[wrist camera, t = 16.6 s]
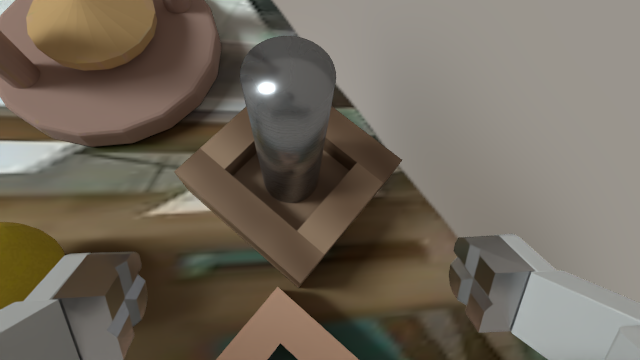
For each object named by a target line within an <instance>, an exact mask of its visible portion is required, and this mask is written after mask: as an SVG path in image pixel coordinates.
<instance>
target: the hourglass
mask: <svg viewBox="0 0 640 360" xmlns="http://www.w3.org/2000/svg"><path fill="white" fill-rule="evenodd" d="M220 55H221V42H220V38H219V34H218V31H217V28H216V24H215V21H214V18H213V14H212V11H211V8H210V7H209V5H208V4H207V3H206V2H205V1H204V0H15V1H14V2H13V3H12V4H11V5H10V6H9V7H8V8H7V9H6V10H5V11H4V13H3V14H2V15H1V16H0V97H1V99H2V100H3V102H4V103H5V105H6V107H7V108H8V109H9V110H11V111H12V112H13V113H15V114H16V115H17V116H19V117H20V118H22V119H23V120H25V121H26V122H28V123H29V124H31V125H32V126H34V127H35V128H37V129H39V130H40V131H42V132H43V133H45V134H46V135H48V136H49V137H51V138H54V139H58V140H63V141H68V142H72V143H77V144H81V145H86V146H90V147H95V146H106V145H117V144H128V143H135V142H137V141H140V140H142V139H145V138H147V137H150V136H152V135H155V134H157V133H160V132H162V131H165V130H167V129H170V128H172V127H173V126H174V125H176V124H177V123H178V122H179V121H180V120H182V119H183V118H184V117H185V116H187V115H188V114H189V113H190V112H192V111H193V110H194V109H195V108H197V107H198V106H199V105H200V104H201V102H202V101H203V99H204V98H205V96H206V94H207V93H208V91H209V89H210V88H211V86H212V85H213V83H214V81H215V80H216V78H217V75H218V68H219V62H220Z"/></svg>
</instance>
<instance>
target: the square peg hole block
mask: <svg viewBox="0 0 640 360" xmlns="http://www.w3.org/2000/svg"><path fill="white" fill-rule="evenodd" d="M401 161H402V160H401V159H400V158H399V157H397V156H396V155H395V154H394V153H392V152H391V151H390V150H388V149H387V148H386V147H384V146H383V145H382V144H380V143H379V142H378V141H377V140H375V139H374V138H373V137H371V136H370V135H369V134H367V133H366V132H365V131H363V130H362V129H361V128H360V127H358V126H357V125H356V124H354V123H353V122H352V121H350V120H349V119H348V118H346V117H345V116H344V115H342V114H341V113H340V112H339V111H337V110H336V109H335V108H333V107H332V106H331V110H330V116H329V121H328V127H327V132H326V138H325V144H324V149H323V155H322V160H321V166H320V171H319V177H318V182H317V186H316V188H315V190H314V191H313V193H312V194H311V195H310V196H309V197H307V198H306V199H304V200H302V201H300V202H296V203H285V202H281V201H279V200H277V199H275V198H274V197H272V196H271V195H270V194H269V192H268V191H267V189H266V188H265V185H264V181H263V177H262V172H261V168H260V164H259V159H258V155H257V151H256V146H255V142H254V137H253V133H252V129H251V124H250V120H249V115H248V111H247V107H245V108H244V109H243V110H242V111H241V112H240V113H239V114H237V115H236V116H235V117H234V118H233V119H232V120H231V121H230V122H229V123H227V124H226V125H225V126H224V127H223V128H222V129H221V130H220V131H219V132H217V133H216V134H215V135H214V136H213V137H212V138H211V139H210V140H209V141H207V142H206V143H205V144H204V145H203V146H202V147H201V148H200V149H199V150H198V151H196V152H195V153H194V154H193V155H192V156H191V157H190V158H189V159H188V160H186V161H185V162H184V163H183V164H182V165H181V166H180V167H179V168H178V169H176V170H175V171H174V172H175V174H176V175H177V176H178V177H179V179H180V180H181V181H182V182H183V184H184V185H185V186H186V188H187V189H188V190H189V191H190V192H191V193H192V194H193V195H194V196H195V197H196V198H198V199H199V200H200V201H201V202H202V203H203V204H204V205H206V206H207V207H208V208H209V209H210V210H211V211H212V212H213V213H215V214H216V215H217V216H218V217H219V218H220V219H221V220H222V221H224V222H225V223H226V224H227V225H228V226H229V227H230V228H231V229H233V230H234V231H235V232H236V233H237V234H238V235H239V236H240V237H242V238H243V239H244V240H245V241H246V242H247V243H248V244H250V245H251V246H252V247H253V248H254V249H255V250H256V251H257V252H259V253H260V254H261V255H262V256H263V257H264V258H265V259H266V260H268V261H269V262H270V263H271V264H272V265H273V266H274V267H275V268H277V269H278V270H279V271H280V272H281V273H282V274H283V275H284V276H286V277H287V278H288V279H289V280H290V281H291V282H292V283H294V284H295V285H296V286H297V287H298V288H299V287H300V286H301V284H302V283H303V282H304V281H305V279H306V278H307V277H308V276H309V275H310V273H311V272H312V271H313V270H314V269H315V267H316V266H317V265H318V264H319V262H320V261H321V260H322V259H323V258H324V256H325V255H326V254H327V253H328V251H329V250H330V249H331V248H332V247H333V245H334V244H335V243H336V242H337V241H338V239H339V238H340V237H341V236H342V234H343V233H344V232H345V231H346V230H347V228H348V227H349V226H350V225H351V223H352V222H353V221H354V220H355V219H356V217H357V216H358V215H359V214H360V213H361V211H362V210H363V209H364V208H365V206H366V205H367V204H368V203H369V202H370V200H371V199H372V198H373V197H374V195H375V194H376V193H377V192H378V191H379V189H380V188H381V187H382V186H383V185H384V183H385V182H386V181H387V180H388V178H389V177H390V176H391V174H392V173H393V172H394V170H395V169H396V168H397V166H398V165H399V164H400V162H401Z"/></svg>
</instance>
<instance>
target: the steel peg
mask: <svg viewBox="0 0 640 360" xmlns="http://www.w3.org/2000/svg"><path fill="white" fill-rule="evenodd" d="M240 79H241V85H242V89H243V94H244V98H245V102H246V107H247V111H248V115H249V120H250V124H251V129H252V133H253V137H254V142H255V146H256V151H257V155H258V159H259V164H260V168H261V172H262V177H263V181H264V185H265V188H266V189H267V191H268V192H269V194H270V195H271V196H272V197H274V198H275V199H277V200H279V201H281V202H285V203H296V202H300V201H302V200H304V199H306V198H307V197H309V196H310V195H311V194H312V193H313V191H314V190H315V188H316V186H317V182H318V177H319V171H320V166H321V160H322V155H323V149H324V144H325V138H326V132H327V127H328V121H329V116H330V110H331V105H332V99H333V94H334V88H335V83H336V71H335V67H334V64H333V62H332V60H331V58H330V56H329V55H328V54H327V53H326V52H325V51H324V50H323V49H322V48H321V47H319V46H318V45H317V44H315V43H314V42H311V41H309V40H307V39H304V38H300V37H295V36H279V37H274V38H270V39H267V40H265V41H263V42H261V43H259V44H258V45H256V46H255V47H254V48H252V49H251V50H250V51H249V53H248V54H247V55H246V57H245V59H244V60H243V63H242V65H241V70H240Z"/></svg>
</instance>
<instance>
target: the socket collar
mask: <svg viewBox="0 0 640 360" xmlns="http://www.w3.org/2000/svg"><path fill="white" fill-rule="evenodd" d="M280 343H281V344H282V345H283V346H284V347H285V348H286V349H287V350H288V351H289V352H290V353H292V354H293V355H294V356H295V357H296V358H297V359H298V360H359V359H358V358H357V357H355V356H354V355H353V354H352V353H351V352H350V351H349V350H348V349H346V348H345V347H344V346H343V345H342V344H341V343H340V342H339V341H338V340H336V339H335V338H334V337H333V336H332V335H331V334H330V333H329V332H328V331H326V330H325V329H324V328H323V327H322V326H321V325H320V324H319V323H317V322H316V321H315V320H314V319H313V318H312V317H311V316H310V315H309V314H307V313H306V312H305V311H304V310H303V309H302V308H301V307H300V306H299V305H297V304H296V303H295V302H294V301H293V300H292V299H291V298H290V297H288V296H287V295H286V294H285V293H284V292H283V291H282V290H281V289H280V288H278V287H277V288H276V289H275V290H274V292H273V293H272V294H271V295H270V296H269V298H268V299H267V300H266V301H265V302H264V303H263V305H262V306H261V307H260V308H259V309H258V311H257V312H256V313H255V314H254V315H253V316H252V318H251V319H250V320H249V321H248V322H247V324H246V325H245V326H244V327H243V328H242V329H241V331H240V332H239V333H238V334H237V335H236V337H235V338H234V339H233V340H232V341H231V342H230V344H229V345H228V346H227V347H226V348H225V350H224V351H223V352H222V353H221V354H220V355H219V357H218V358H217V359H216V360H267V359H268V358H269V357H270V356H271V354H272V353H273V352H274V351H275V349H276V348H277V347H278V346H279V344H280Z"/></svg>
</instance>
